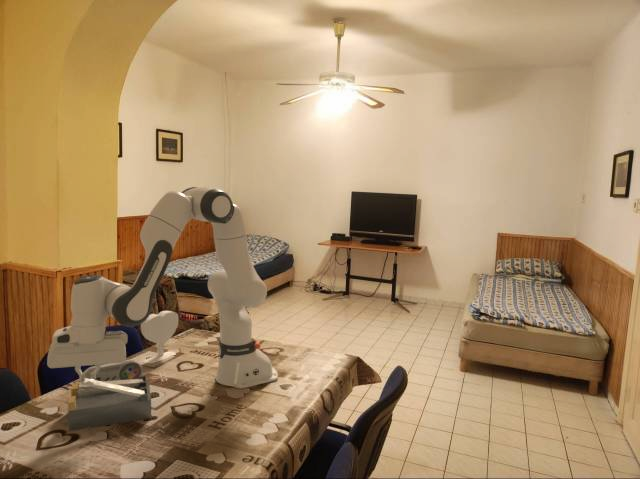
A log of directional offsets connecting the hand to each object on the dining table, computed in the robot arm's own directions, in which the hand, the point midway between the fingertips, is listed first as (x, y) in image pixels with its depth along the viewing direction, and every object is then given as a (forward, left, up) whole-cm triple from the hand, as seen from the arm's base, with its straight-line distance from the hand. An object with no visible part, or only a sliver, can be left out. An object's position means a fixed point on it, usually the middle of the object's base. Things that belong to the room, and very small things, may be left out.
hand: (87, 379), depth 136 cm
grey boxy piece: (-6, -5, -14) cm, 16 cm away
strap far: (-6, -9, -7) cm, 13 cm away
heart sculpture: (-23, -47, -14) cm, 54 cm away
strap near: (-7, 0, -4) cm, 8 cm away
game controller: (-6, -25, -14) cm, 29 cm away
